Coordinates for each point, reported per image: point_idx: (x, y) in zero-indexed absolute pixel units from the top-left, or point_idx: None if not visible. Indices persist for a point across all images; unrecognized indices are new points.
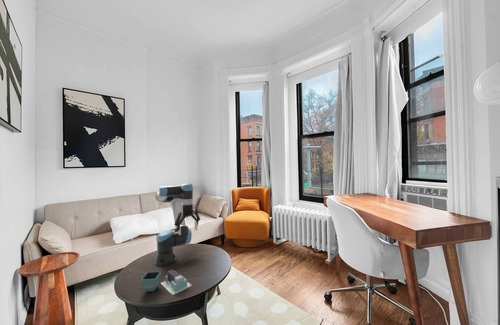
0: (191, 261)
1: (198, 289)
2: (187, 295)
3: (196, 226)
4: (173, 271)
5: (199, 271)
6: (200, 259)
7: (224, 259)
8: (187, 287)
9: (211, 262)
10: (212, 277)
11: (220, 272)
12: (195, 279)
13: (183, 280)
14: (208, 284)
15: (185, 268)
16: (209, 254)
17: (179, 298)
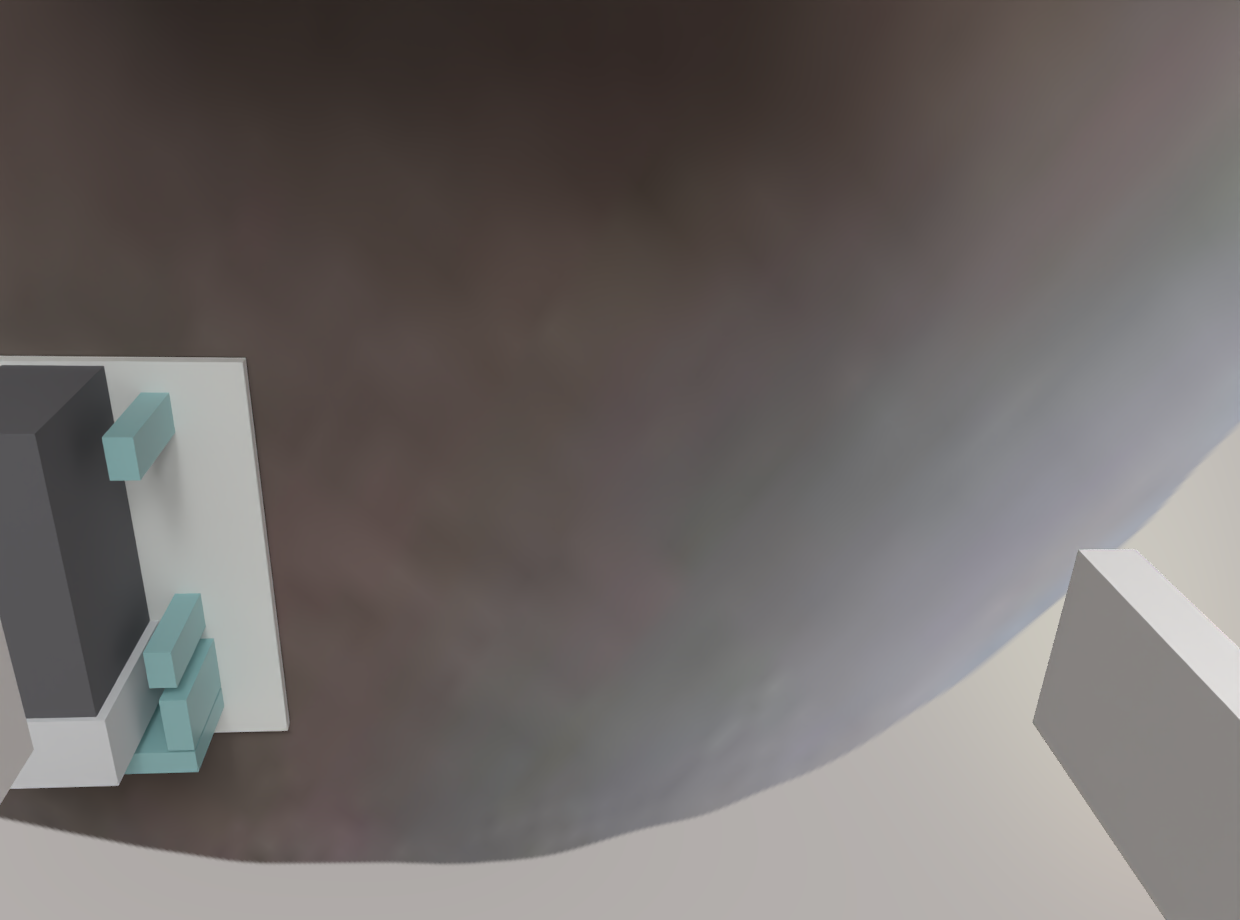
0: (721, 9)
1: (325, 829)
2: (154, 839)
3: (1164, 904)
4: (28, 521)
5: (592, 485)
6: (908, 91)
7: (1163, 460)
8: (215, 731)
9: (944, 378)
10: (626, 743)
11: (794, 720)
12: (413, 630)
13: (142, 754)
14: (484, 826)
15: (462, 198)
16: (1202, 35)
17: (45, 827)
